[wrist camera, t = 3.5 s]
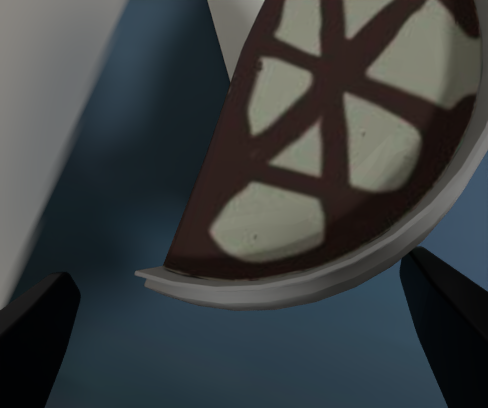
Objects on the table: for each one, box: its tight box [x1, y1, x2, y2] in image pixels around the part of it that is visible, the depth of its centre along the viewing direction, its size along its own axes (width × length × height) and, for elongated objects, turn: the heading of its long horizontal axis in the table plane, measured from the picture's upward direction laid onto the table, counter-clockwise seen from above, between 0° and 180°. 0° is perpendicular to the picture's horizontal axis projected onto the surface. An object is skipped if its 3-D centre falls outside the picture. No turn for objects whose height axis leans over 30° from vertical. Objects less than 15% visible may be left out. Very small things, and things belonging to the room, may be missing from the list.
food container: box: [134, 0, 488, 311], centre depth 12 cm, size 12×6×10 cm, turn 160°
